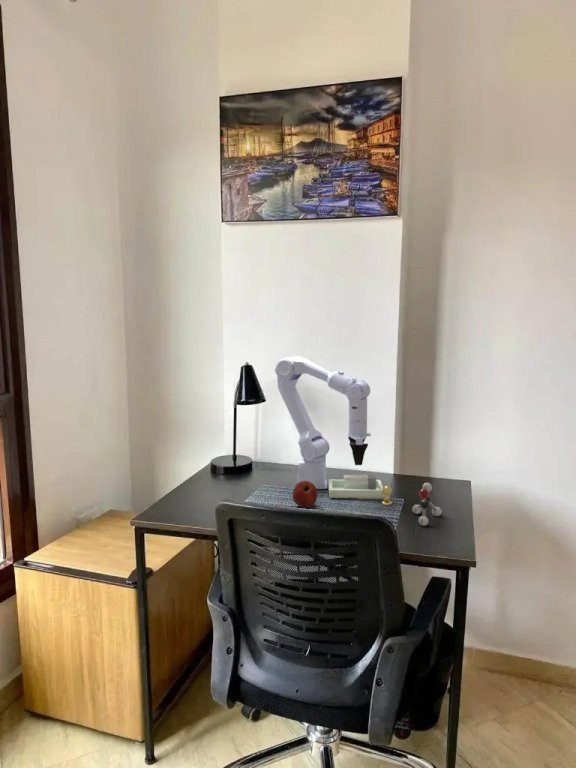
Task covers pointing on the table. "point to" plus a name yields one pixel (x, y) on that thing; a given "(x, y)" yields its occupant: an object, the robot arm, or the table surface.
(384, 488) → the door knob
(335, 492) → the tray
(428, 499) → the molecular model
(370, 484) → the strut
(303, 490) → the apple
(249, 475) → the table surface
